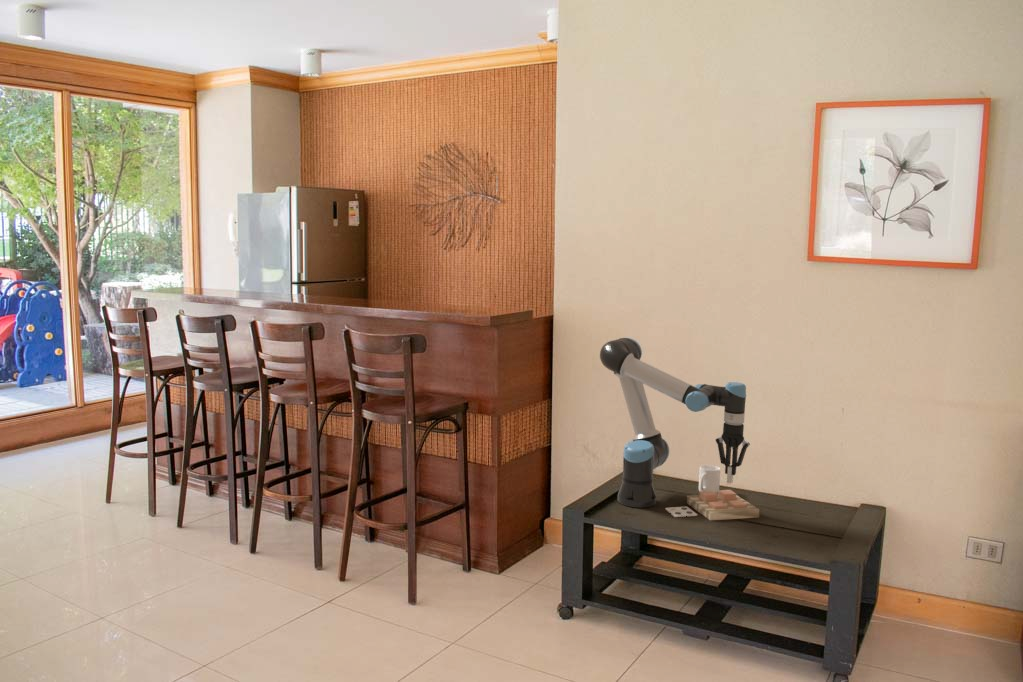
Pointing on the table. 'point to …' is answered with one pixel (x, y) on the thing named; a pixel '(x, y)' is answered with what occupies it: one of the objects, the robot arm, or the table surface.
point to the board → (722, 514)
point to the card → (681, 511)
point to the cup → (709, 478)
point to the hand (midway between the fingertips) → (729, 482)
